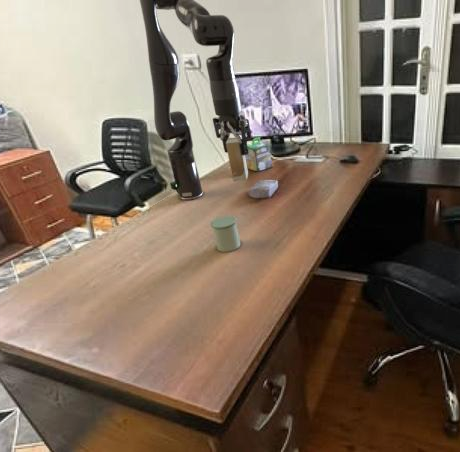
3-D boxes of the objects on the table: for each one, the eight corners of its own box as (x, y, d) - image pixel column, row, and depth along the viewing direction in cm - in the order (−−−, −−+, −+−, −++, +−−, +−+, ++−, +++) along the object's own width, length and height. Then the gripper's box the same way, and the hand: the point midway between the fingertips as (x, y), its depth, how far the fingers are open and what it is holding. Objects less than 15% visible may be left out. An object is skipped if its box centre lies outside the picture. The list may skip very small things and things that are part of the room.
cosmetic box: (235, 175, 114) (227, 137, 108) (248, 173, 114) (241, 136, 108) (232, 182, 108) (225, 142, 102) (247, 180, 108) (239, 141, 102)
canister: (211, 247, 106) (205, 223, 102) (230, 237, 111) (225, 213, 107) (226, 254, 102) (221, 229, 98) (246, 243, 107) (241, 219, 103)
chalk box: (261, 163, 176) (257, 134, 170) (272, 166, 171) (268, 136, 164) (246, 168, 171) (241, 138, 164) (257, 172, 165) (253, 141, 158)
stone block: (248, 202, 139) (271, 197, 136) (244, 190, 137) (267, 186, 134) (259, 191, 149) (280, 187, 146) (255, 180, 147) (277, 176, 144)
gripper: (252, 95, 98) (261, 152, 105) (220, 94, 106) (231, 147, 114) (231, 99, 93) (242, 159, 100) (199, 98, 101) (212, 154, 109)
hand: (236, 153), depth 107 cm, fingers closed on cosmetic box, 7 cm apart
